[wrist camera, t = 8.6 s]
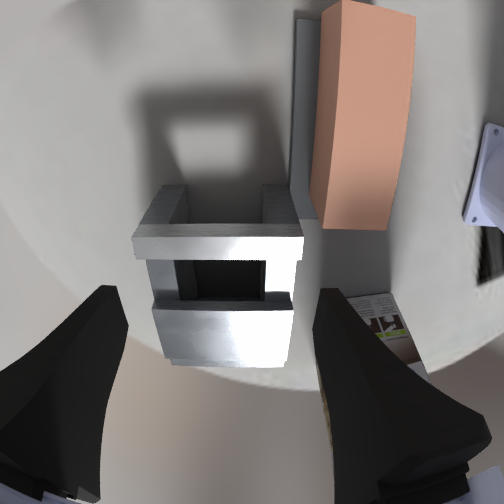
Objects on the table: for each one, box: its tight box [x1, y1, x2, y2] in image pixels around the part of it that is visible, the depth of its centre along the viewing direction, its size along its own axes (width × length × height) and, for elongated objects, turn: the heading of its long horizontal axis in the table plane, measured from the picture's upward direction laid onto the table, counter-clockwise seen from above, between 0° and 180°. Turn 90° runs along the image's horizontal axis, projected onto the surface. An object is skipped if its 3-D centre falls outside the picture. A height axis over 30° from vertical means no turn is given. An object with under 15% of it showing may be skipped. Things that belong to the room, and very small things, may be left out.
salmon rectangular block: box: [309, 0, 416, 231], centre depth 14 cm, size 4×11×4 cm, turn 179°
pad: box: [289, 19, 321, 219], centre depth 17 cm, size 6×12×1 cm, turn 179°
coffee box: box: [316, 293, 432, 475], centre depth 20 cm, size 9×6×16 cm
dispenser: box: [132, 184, 304, 367], centre depth 19 cm, size 8×11×6 cm
